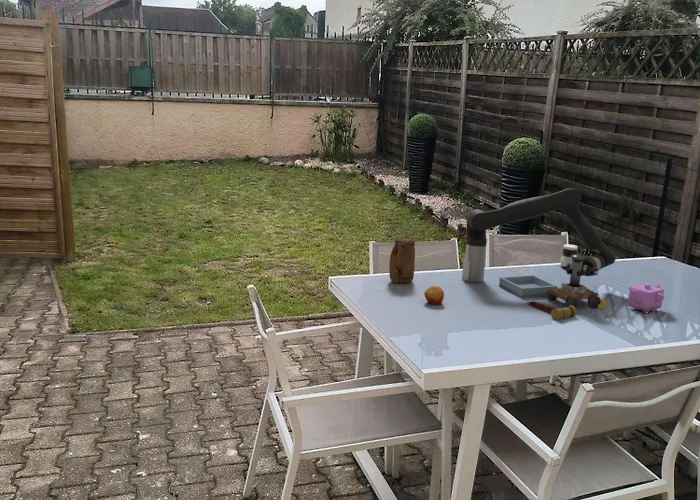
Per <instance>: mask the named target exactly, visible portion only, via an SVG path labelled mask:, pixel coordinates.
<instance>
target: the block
mask: <svg viewBox="0 0 700 500" xmlns="http://www.w3.org/2000/svg"><path fill="white" fill-rule="evenodd" d="M415 246H416V242H415V240H414V239H411V238H409V237H404V238H403V237H397V238H396V239H395V240H394V245H393V247H392V250H391V252H390V256H389V268H388V269H389V270H388V271H389V273H388V275H389V279H390V282H391V283H393V282H394V284H400V283H401V284H405V282H407V283H410V282H412V281H414V275H415V261H416V248H415ZM399 282H400V283H399Z"/></svg>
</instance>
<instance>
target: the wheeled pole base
mask: <svg viewBox="0 0 700 500" xmlns="http://www.w3.org/2000/svg"><path fill="white" fill-rule="evenodd" d="M569 283H570V282H566V283H565V282H564V283H562V284H561V287H557V288H550V289H548V290H547V292H546V299H548V300H551V301H555V300H557V299H558V298H559V299H561V300H563V301H565V303H564V305H565V307H566V306H570V305H572V306H574V307H575V308H576V309H577V308H578V307H579V301H580V300H587V301H586V302H587V306H589V307H591V308H593V309H598V308H597V307H598V305H599V304H600V302H601V300H600V299H601V297H599V293H598V292H595V291H593V290H591V289H588V287H587V286H585V285H582V284H581V283H580V285H579V287H571V286H569Z"/></svg>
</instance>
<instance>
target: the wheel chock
mask: <svg viewBox="0 0 700 500" xmlns="http://www.w3.org/2000/svg"><path fill="white" fill-rule="evenodd" d="M600 300H601V302H600V304H599V305H598V307H597V308H596V309H604V308H606V304H607V300H605V299H602V298H600Z"/></svg>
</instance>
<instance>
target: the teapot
mask: <svg viewBox="0 0 700 500" xmlns="http://www.w3.org/2000/svg"><path fill="white" fill-rule="evenodd" d="M661 286H662V284H660V283H659V284H657V285H656V286H653V285H651V284H648V283H643V284H637V285H630V286H629V287H628V290H629V293H628V297H627V298H628V299H627V306H628V307H631V308H634V309H637V310H641V311H644V312H649V313H650V312H651V310H656V311H657V309H661V308H662V305H663V301H664V299H665V298H666V297H665V295H664V293H665V289H664V288H661ZM634 309H633V310H634ZM644 312H643V313H644Z"/></svg>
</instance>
